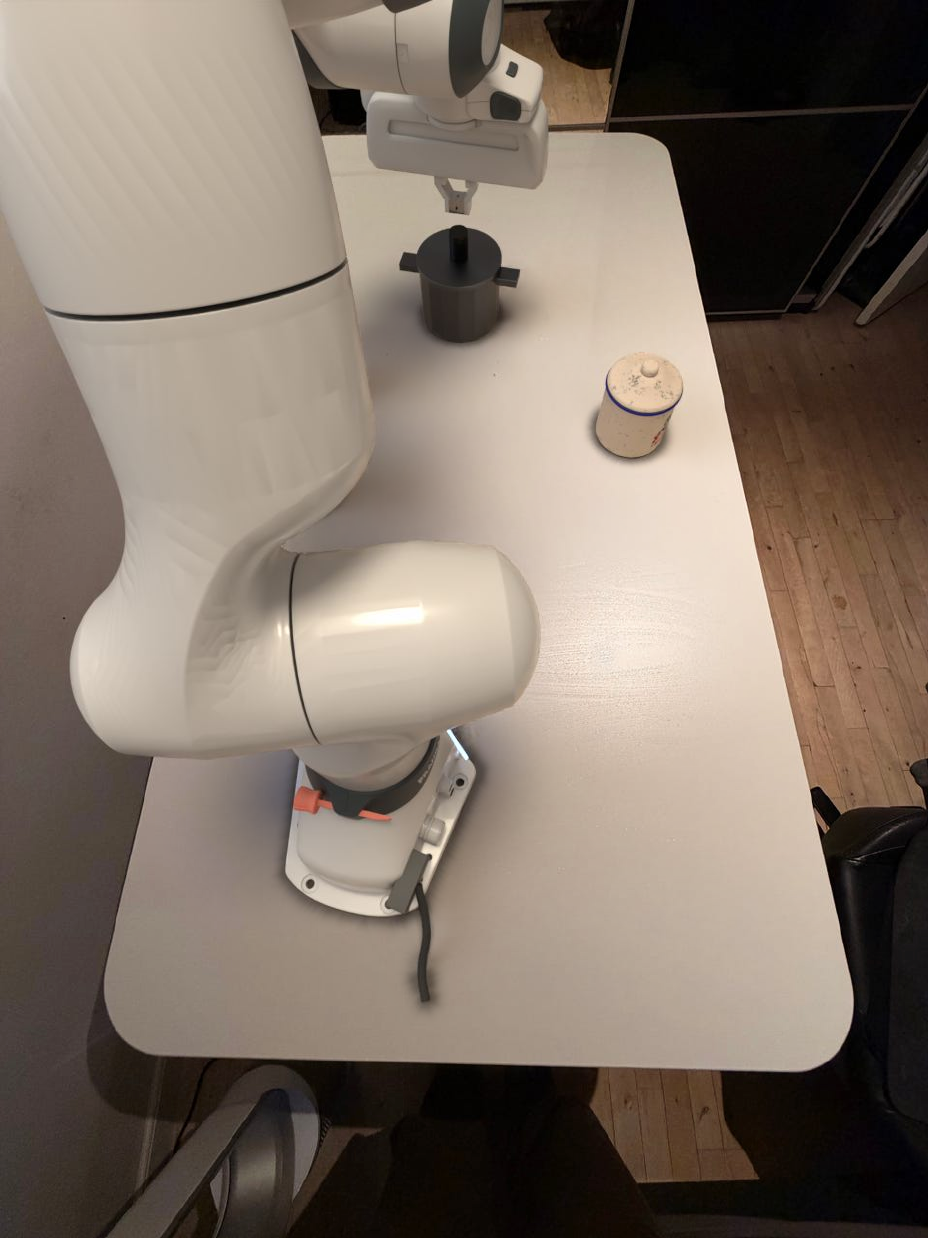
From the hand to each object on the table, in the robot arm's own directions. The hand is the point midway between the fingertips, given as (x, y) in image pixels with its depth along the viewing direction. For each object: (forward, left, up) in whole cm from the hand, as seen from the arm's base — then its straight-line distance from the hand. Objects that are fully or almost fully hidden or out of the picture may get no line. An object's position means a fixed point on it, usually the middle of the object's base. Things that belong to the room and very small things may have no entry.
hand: (458, 210), depth 77 cm
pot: (0, 0, -16) cm, 16 cm away
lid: (0, 0, -7) cm, 7 cm away
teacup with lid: (-14, -26, -16) cm, 33 cm away
